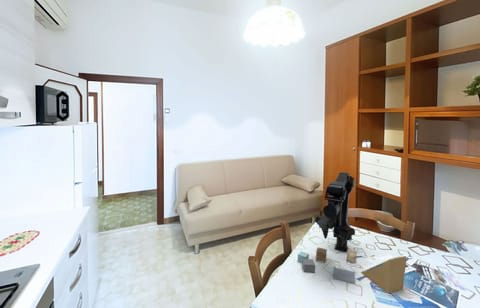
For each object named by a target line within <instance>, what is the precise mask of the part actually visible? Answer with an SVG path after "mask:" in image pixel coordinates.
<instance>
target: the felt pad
mask: <svg viewBox="0 0 480 308" xmlns="http://www.w3.org/2000/svg"><path fill="white" fill-rule="evenodd" d="M332 272H333V273H332V279H333V280H337V281H341V282H346V283H349V284H353V285H356V276H355V275H356V272H355V271H352V270H348V269H344V268H343V269H342V268H339V267H333V271H332Z"/></svg>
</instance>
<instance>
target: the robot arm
mask: <svg viewBox="0 0 480 308" xmlns="http://www.w3.org/2000/svg"><path fill="white" fill-rule="evenodd" d="M355 184H356V181H355V177H353V176H351V175H350V173H348V172H343V171H342V172H338V175H337V178H336V179H335V181H331V182H330V183H328V185H326V189H325V194H324V198H323V200H325V201H327V202H326V203H327V204H325V205H324V207H323V209H322V213H323V214H322V215H318V216H316V217H315V219H314V222H315V223H316V224H317V225H318V228H319V229H321V232H322V234H323V237H324V239H327V238H328V234H329V229H330V230H332V229H333V232H332V233H333V238H335V239H336V242H335V246H334V250H336V251H341V252H343V251H344V252H347V250H349V245H348V242H349V241H350V242H351V241H352V238H353V236H355V235H356V230H355V228H354V227H351V225H350V223H349V221H348V216H349V215H348V214H349V202H350V201H349V200H350V194H351V193H352V191H353V189H354V188H355Z"/></svg>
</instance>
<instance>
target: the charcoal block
mask: <svg viewBox="0 0 480 308" xmlns="http://www.w3.org/2000/svg"><path fill="white" fill-rule="evenodd" d="M301 268H302V270H303V273H305V274H306V273H310V274H311V273H312V274H315V273H316V263H315V260H314V259H313V258H309V259H302V263H301Z"/></svg>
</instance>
